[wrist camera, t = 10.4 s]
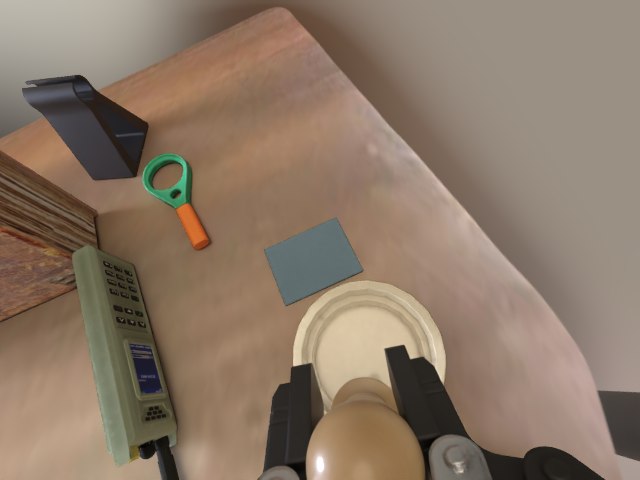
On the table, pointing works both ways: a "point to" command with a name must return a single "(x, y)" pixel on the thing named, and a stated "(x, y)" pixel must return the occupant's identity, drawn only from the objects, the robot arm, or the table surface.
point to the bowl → (364, 334)
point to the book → (37, 238)
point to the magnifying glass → (183, 201)
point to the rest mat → (312, 261)
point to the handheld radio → (124, 361)
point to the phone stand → (90, 125)
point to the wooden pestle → (364, 438)
